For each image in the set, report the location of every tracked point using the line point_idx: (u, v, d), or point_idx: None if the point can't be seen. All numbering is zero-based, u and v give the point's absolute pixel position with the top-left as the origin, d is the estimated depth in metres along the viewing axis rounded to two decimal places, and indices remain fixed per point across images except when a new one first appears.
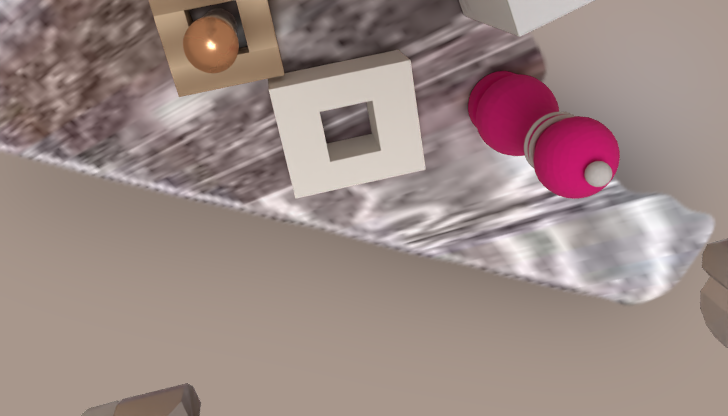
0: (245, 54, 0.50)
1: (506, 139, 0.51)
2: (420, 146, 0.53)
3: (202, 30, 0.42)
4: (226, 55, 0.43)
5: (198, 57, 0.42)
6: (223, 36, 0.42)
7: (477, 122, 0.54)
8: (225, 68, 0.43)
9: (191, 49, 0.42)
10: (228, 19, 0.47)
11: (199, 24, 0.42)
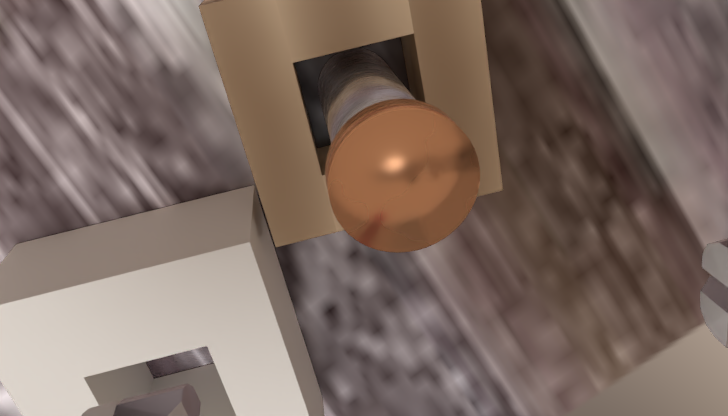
0: (317, 167, 0.22)
1: None
2: None
3: (449, 163, 0.15)
4: (379, 224, 0.15)
5: (374, 151, 0.14)
6: (430, 216, 0.15)
7: None
8: (343, 222, 0.15)
9: (395, 132, 0.14)
10: None
11: (465, 156, 0.15)
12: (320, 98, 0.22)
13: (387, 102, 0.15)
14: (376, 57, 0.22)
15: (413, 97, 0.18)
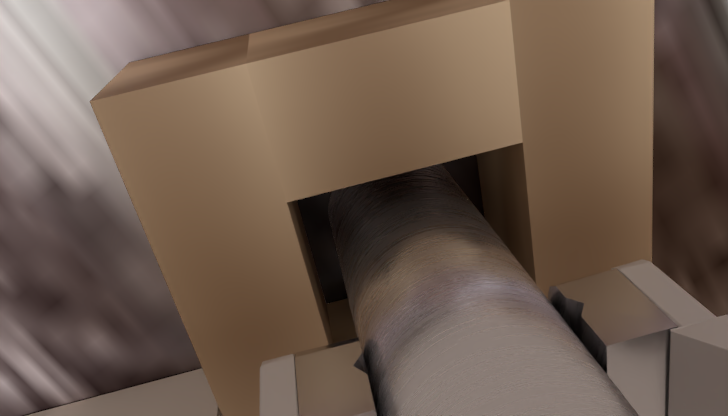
0: None
1: None
2: None
3: None
4: None
5: None
6: None
7: None
8: None
9: None
10: None
11: None
12: (335, 242, 0.12)
13: None
14: (435, 168, 0.12)
15: (552, 306, 0.08)
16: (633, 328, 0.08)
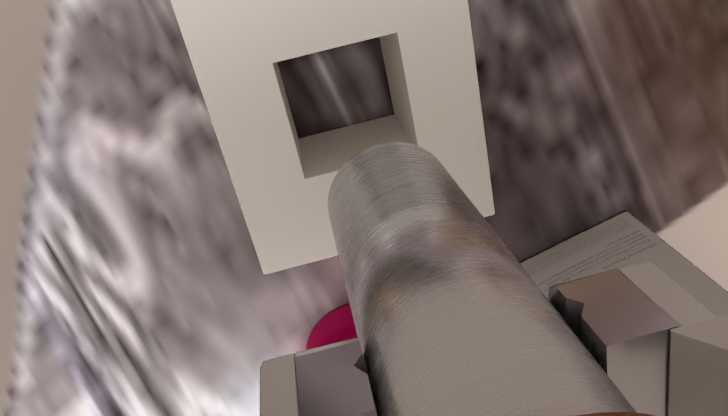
0: None
1: None
2: (316, 257, 0.25)
3: None
4: None
5: None
6: None
7: None
8: None
9: None
10: None
11: None
12: (334, 236, 0.13)
13: None
14: (431, 163, 0.13)
15: (541, 293, 0.09)
16: (633, 328, 0.08)
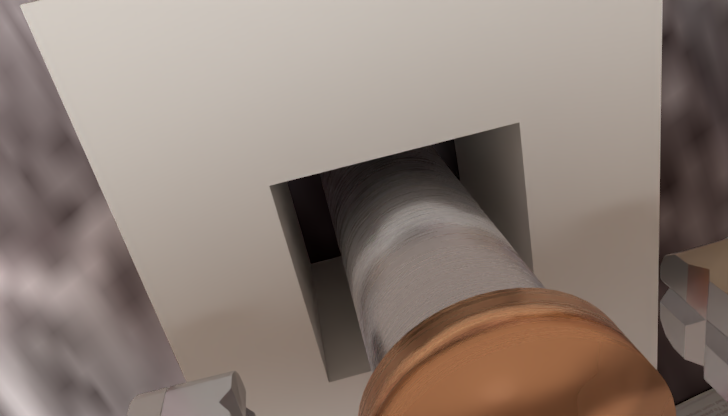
0: None
1: None
2: None
3: None
4: None
5: None
6: None
7: None
8: None
9: (518, 383, 0.07)
10: None
11: (652, 410, 0.07)
12: (325, 194, 0.15)
13: (489, 302, 0.07)
14: None
15: (494, 226, 0.10)
16: None
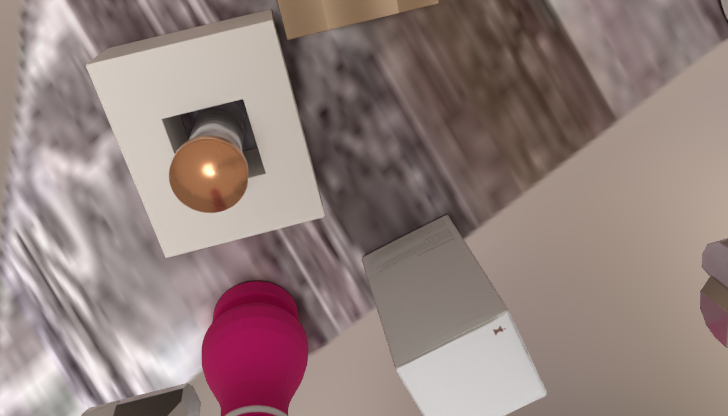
0: None
1: (235, 363, 0.37)
2: (201, 246, 0.37)
3: (230, 167, 0.30)
4: (198, 198, 0.30)
5: (190, 161, 0.29)
6: (225, 194, 0.30)
7: (241, 309, 0.40)
8: (179, 197, 0.30)
9: (200, 152, 0.29)
10: None
11: (237, 163, 0.30)
12: None
13: (198, 137, 0.29)
14: (228, 104, 0.37)
15: (231, 131, 0.33)
16: None
